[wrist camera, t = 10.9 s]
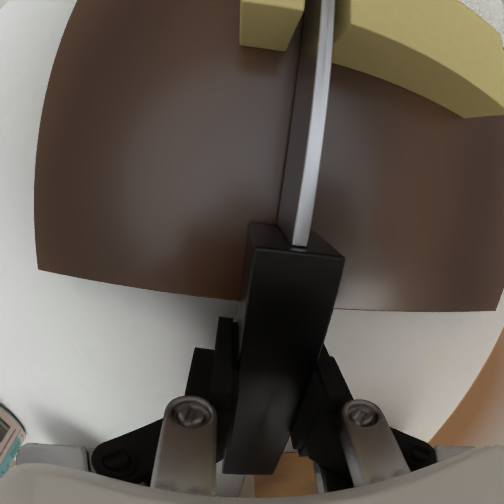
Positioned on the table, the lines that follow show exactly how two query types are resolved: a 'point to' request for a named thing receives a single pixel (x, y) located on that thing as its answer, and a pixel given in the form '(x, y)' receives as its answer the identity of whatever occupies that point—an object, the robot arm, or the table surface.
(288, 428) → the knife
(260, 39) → the butter slice
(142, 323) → the table surface
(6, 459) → the beige cylinder
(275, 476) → the bread box
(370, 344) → the table surface
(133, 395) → the table surface
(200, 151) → the board
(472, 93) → the butter stick
